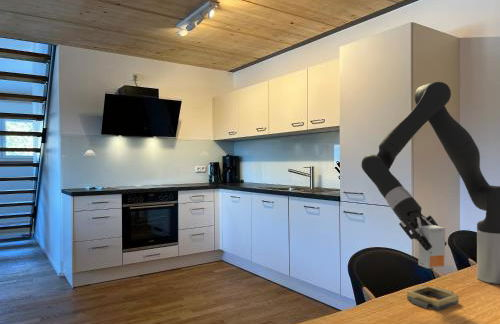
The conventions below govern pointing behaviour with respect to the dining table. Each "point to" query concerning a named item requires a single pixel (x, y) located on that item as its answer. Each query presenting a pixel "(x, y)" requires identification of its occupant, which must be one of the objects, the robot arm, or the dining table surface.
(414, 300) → the beige grey rectangular frame
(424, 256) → the skincare box
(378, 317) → the dining table surface
